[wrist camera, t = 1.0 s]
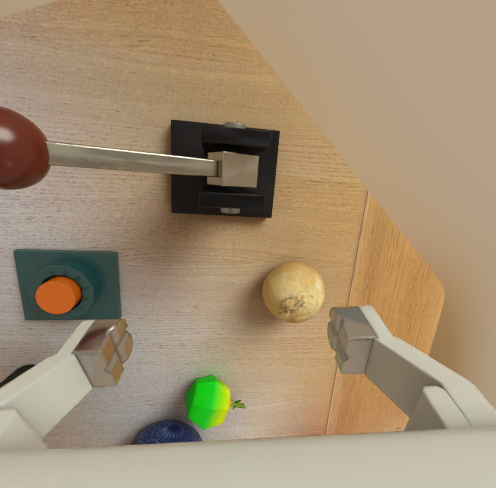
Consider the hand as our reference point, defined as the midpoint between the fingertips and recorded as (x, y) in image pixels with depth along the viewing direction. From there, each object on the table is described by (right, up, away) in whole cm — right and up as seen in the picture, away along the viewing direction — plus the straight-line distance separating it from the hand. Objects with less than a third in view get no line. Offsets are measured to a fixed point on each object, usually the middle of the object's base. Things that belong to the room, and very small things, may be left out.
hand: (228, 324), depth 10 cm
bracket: (-2, +12, +20) cm, 24 cm away
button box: (-21, -2, +21) cm, 30 cm away
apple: (-4, -18, +28) cm, 34 cm away
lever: (-7, +8, +6) cm, 12 cm away
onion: (+6, -2, +25) cm, 26 cm away
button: (-21, -2, +19) cm, 29 cm away
